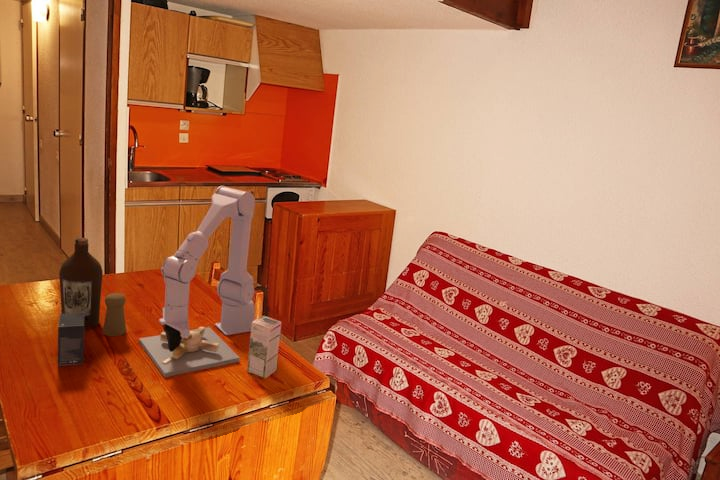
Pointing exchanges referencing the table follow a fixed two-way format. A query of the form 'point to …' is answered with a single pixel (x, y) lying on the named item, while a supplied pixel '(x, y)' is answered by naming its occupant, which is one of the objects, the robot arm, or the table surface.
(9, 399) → the table surface
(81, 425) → the table surface
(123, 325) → the cork
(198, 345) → the capstan
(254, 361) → the syrup box
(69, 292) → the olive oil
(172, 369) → the stand board
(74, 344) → the box
